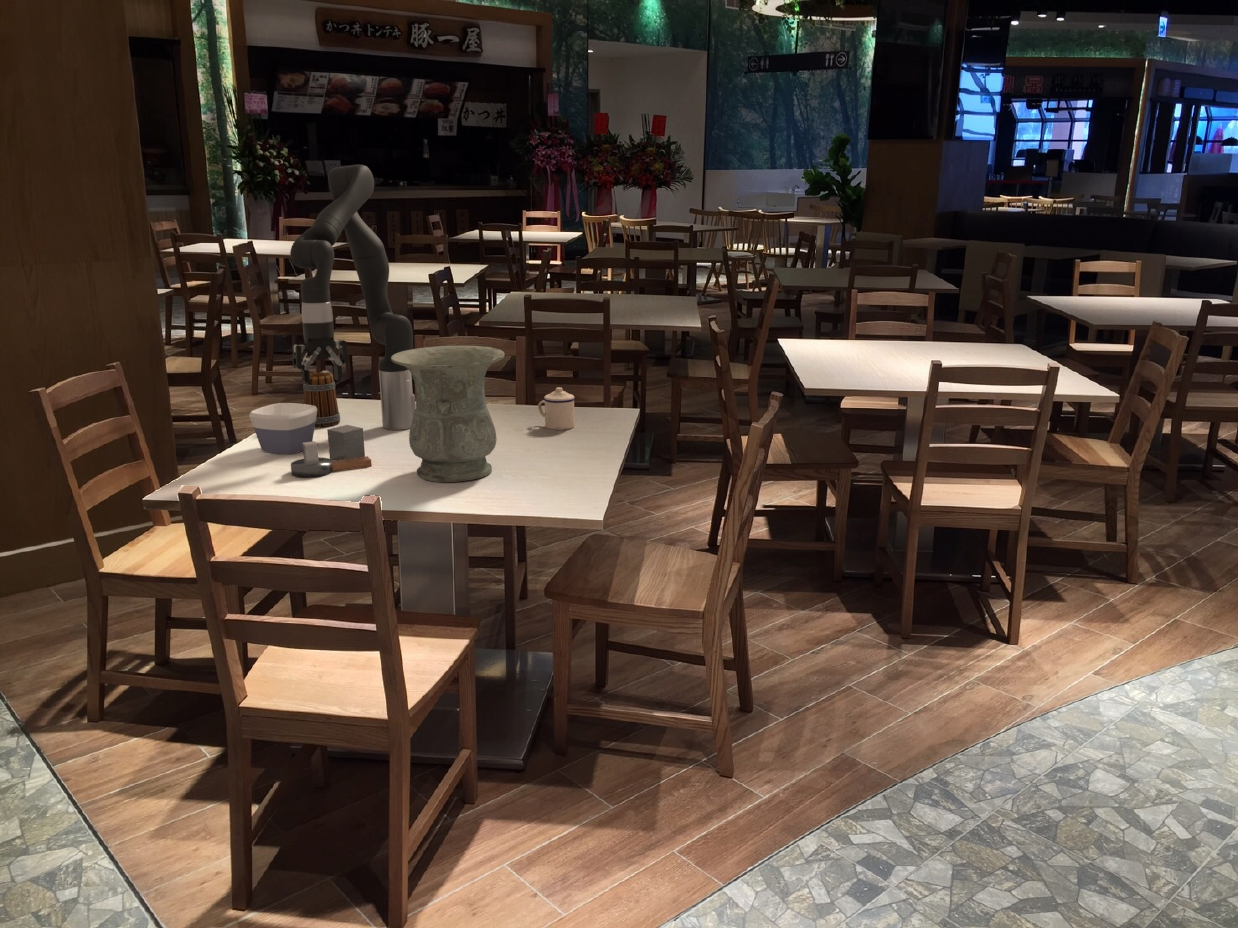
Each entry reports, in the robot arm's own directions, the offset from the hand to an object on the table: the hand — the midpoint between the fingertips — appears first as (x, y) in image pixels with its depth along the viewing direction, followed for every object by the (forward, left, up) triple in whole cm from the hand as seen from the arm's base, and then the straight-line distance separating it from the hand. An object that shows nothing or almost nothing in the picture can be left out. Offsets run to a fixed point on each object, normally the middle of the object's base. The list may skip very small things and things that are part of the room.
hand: (322, 382), depth 266 cm
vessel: (-24, +31, -20) cm, 44 cm away
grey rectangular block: (-4, +4, -20) cm, 21 cm away
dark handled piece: (+2, +13, -20) cm, 24 cm away
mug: (-8, -41, -20) cm, 46 cm away
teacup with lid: (-67, -2, -20) cm, 70 cm away
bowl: (+8, -14, -20) cm, 26 cm away
